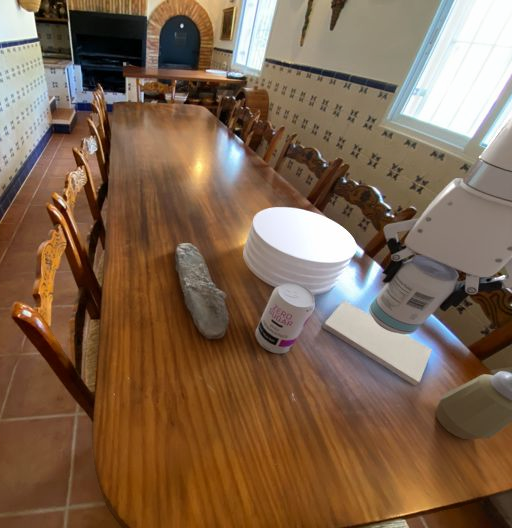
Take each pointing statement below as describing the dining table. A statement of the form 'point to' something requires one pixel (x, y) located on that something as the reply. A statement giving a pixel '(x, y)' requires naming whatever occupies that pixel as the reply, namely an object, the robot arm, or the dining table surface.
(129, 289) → the dining table surface
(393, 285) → the beverage can
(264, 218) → the plate stack
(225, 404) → the dining table surface
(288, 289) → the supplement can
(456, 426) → the squeeze bottle
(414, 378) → the serving board
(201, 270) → the long grey stone
